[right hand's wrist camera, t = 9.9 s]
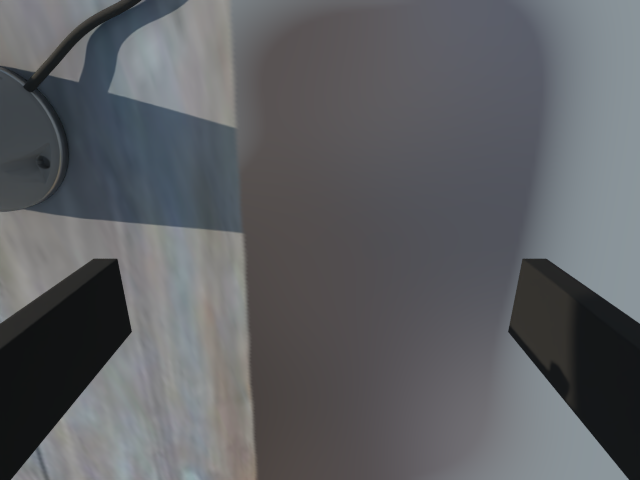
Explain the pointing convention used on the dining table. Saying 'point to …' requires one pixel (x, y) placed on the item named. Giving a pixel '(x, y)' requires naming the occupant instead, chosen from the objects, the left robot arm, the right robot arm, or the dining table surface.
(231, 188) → the dining table surface
